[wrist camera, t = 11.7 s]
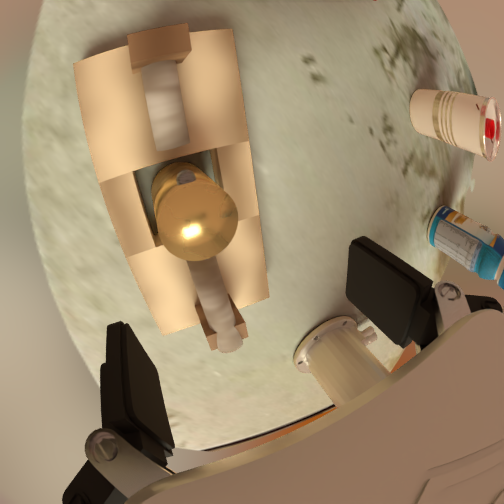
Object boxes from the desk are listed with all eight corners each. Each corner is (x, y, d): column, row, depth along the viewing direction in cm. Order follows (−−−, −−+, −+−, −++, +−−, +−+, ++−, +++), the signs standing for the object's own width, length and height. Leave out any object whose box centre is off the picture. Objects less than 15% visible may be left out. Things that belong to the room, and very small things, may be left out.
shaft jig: (222, 36, 17) (262, 6, 11) (260, 286, 31) (294, 331, 25) (79, 69, 14) (52, 46, 7) (160, 321, 28) (173, 378, 22)
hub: (200, 147, 21) (229, 162, 15) (213, 214, 25) (245, 255, 18) (142, 163, 20) (144, 186, 14) (162, 231, 23) (174, 279, 17)
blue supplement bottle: (421, 230, 40) (510, 289, 24) (442, 195, 39) (530, 244, 23) (430, 251, 45) (505, 304, 29) (450, 218, 44) (524, 264, 28)
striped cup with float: (396, 117, 27) (478, 137, 18) (412, 69, 25) (488, 79, 15) (428, 150, 32) (493, 175, 23) (441, 107, 30) (505, 124, 20)
